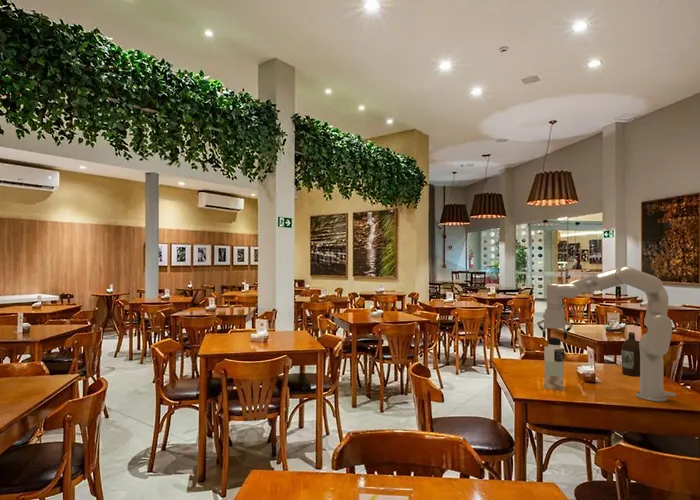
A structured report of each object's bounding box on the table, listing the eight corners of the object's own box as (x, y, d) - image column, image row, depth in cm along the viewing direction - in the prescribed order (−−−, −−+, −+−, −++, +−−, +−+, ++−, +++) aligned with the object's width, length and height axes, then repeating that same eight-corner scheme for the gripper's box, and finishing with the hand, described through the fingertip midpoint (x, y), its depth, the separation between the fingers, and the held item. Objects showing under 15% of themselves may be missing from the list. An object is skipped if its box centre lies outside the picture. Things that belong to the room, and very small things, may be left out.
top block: (563, 373, 240) (563, 360, 240) (563, 377, 232) (563, 363, 232) (545, 371, 243) (545, 358, 244) (544, 375, 235) (544, 361, 235)
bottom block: (562, 386, 240) (563, 373, 240) (563, 390, 231) (563, 377, 232) (544, 384, 243) (544, 371, 244) (544, 388, 235) (544, 374, 235)
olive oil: (628, 371, 276) (628, 330, 276) (646, 375, 266) (646, 333, 267) (617, 373, 271) (617, 331, 272) (634, 377, 261) (635, 334, 262)
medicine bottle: (554, 362, 233) (554, 339, 233) (543, 359, 240) (544, 337, 240) (564, 361, 236) (565, 338, 236) (554, 359, 242) (554, 336, 242)
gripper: (572, 306, 238) (572, 339, 238) (536, 305, 245) (536, 337, 245) (573, 308, 232) (573, 341, 231) (536, 306, 238) (537, 339, 238)
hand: (554, 339), depth 238 cm, fingers open, 9 cm apart
